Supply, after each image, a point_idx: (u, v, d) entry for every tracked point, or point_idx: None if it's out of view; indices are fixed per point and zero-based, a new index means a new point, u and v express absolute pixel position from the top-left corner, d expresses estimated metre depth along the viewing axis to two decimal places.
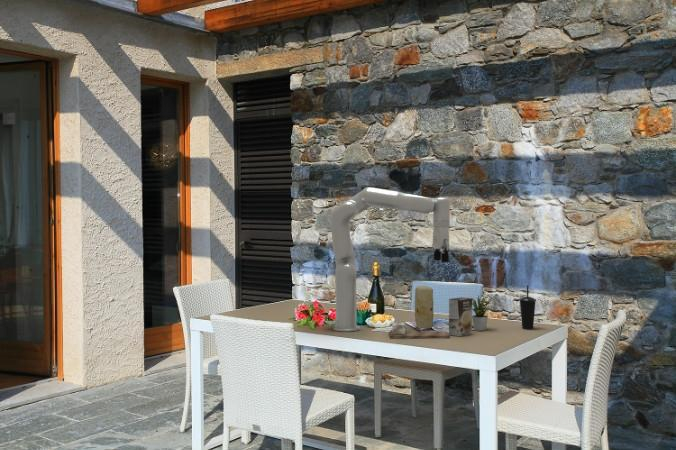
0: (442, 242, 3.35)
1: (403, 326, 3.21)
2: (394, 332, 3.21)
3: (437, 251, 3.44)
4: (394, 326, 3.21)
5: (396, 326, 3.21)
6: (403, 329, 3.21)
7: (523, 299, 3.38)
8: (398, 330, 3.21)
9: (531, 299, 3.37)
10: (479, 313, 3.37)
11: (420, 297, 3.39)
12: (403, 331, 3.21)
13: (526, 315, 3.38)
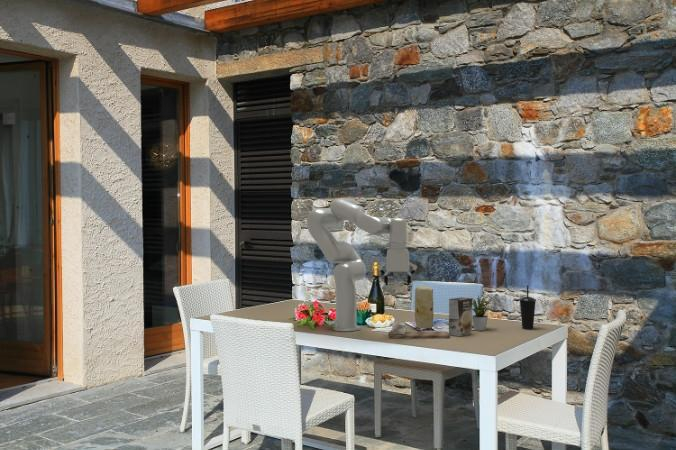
0: (409, 264, 3.23)
1: (403, 326, 3.21)
2: (394, 332, 3.21)
3: None
4: (394, 326, 3.21)
5: (396, 326, 3.21)
6: (403, 329, 3.21)
7: (523, 299, 3.38)
8: (398, 330, 3.21)
9: (531, 299, 3.37)
10: (479, 313, 3.37)
11: (420, 297, 3.39)
12: (403, 331, 3.21)
13: (526, 315, 3.38)
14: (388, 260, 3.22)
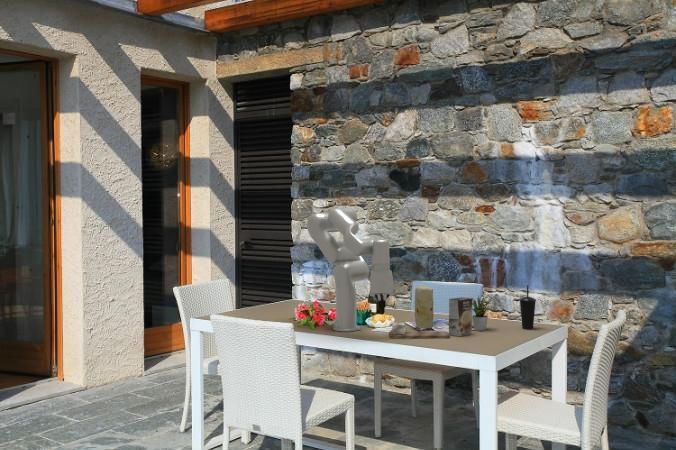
0: None
1: (403, 326, 3.21)
2: (394, 332, 3.21)
3: (381, 299, 3.23)
4: (394, 326, 3.21)
5: (396, 326, 3.21)
6: (403, 329, 3.21)
7: (523, 299, 3.38)
8: (398, 330, 3.21)
9: (531, 299, 3.37)
10: (479, 313, 3.37)
11: (420, 297, 3.39)
12: (403, 331, 3.21)
13: (526, 315, 3.38)
14: (372, 282, 3.21)
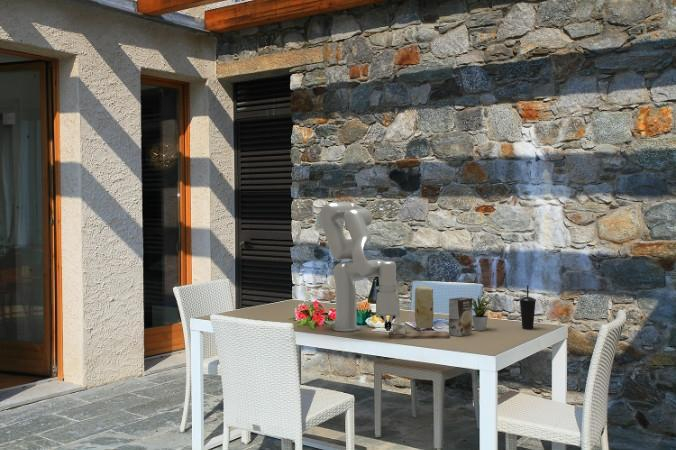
0: None
1: (403, 326, 3.21)
2: (394, 332, 3.21)
3: (387, 321, 3.24)
4: (394, 326, 3.21)
5: (396, 326, 3.21)
6: (403, 329, 3.21)
7: (523, 299, 3.38)
8: (398, 330, 3.21)
9: (531, 299, 3.37)
10: (479, 313, 3.37)
11: (420, 297, 3.39)
12: (403, 331, 3.21)
13: (526, 315, 3.38)
14: (378, 303, 3.21)
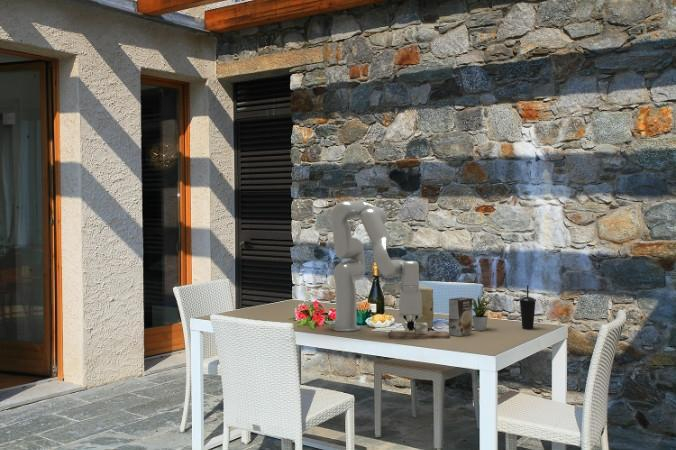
0: None
1: (426, 326, 3.21)
2: (417, 332, 3.21)
3: None
4: (417, 326, 3.21)
5: (419, 326, 3.21)
6: (426, 328, 3.21)
7: (523, 299, 3.38)
8: (421, 330, 3.21)
9: (531, 299, 3.37)
10: (479, 313, 3.37)
11: None
12: (426, 331, 3.21)
13: (526, 315, 3.38)
14: (401, 303, 3.21)
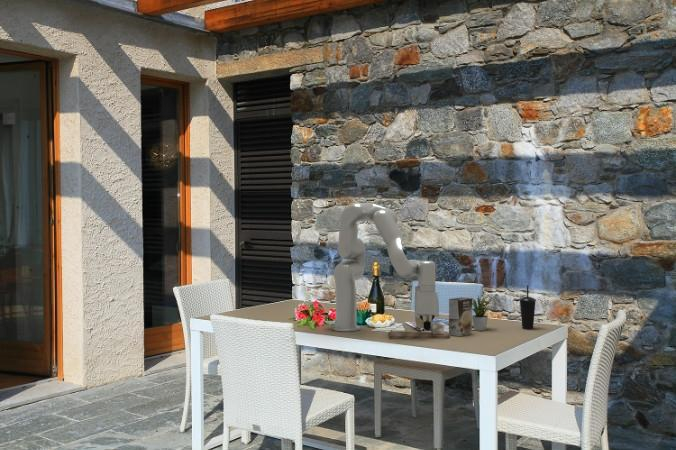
0: None
1: (443, 326, 3.21)
2: (434, 332, 3.21)
3: (426, 320, 3.24)
4: (434, 326, 3.21)
5: (436, 326, 3.21)
6: (443, 328, 3.21)
7: (523, 299, 3.38)
8: (438, 330, 3.21)
9: (531, 299, 3.37)
10: (479, 313, 3.37)
11: None
12: (443, 331, 3.21)
13: (526, 315, 3.38)
14: (417, 303, 3.21)
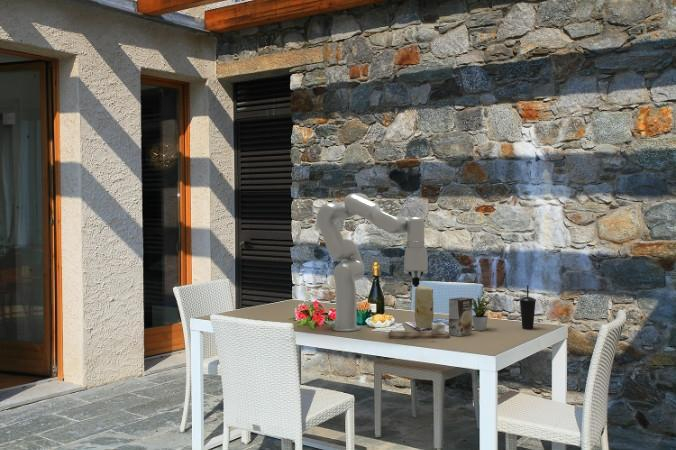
0: None
1: (443, 326, 3.21)
2: (434, 332, 3.21)
3: None
4: (434, 326, 3.21)
5: (436, 326, 3.21)
6: (443, 328, 3.21)
7: (523, 299, 3.38)
8: (438, 330, 3.21)
9: (531, 299, 3.37)
10: (479, 313, 3.37)
11: (420, 297, 3.39)
12: (443, 331, 3.21)
13: (526, 315, 3.38)
14: (406, 259, 3.21)
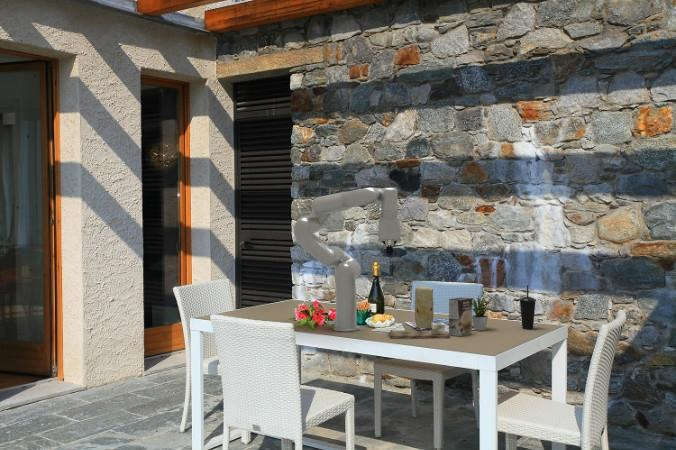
0: None
1: (443, 326, 3.21)
2: (434, 332, 3.21)
3: (388, 246, 3.35)
4: (434, 326, 3.21)
5: (436, 326, 3.21)
6: (443, 328, 3.21)
7: (523, 299, 3.38)
8: (438, 330, 3.21)
9: (531, 299, 3.37)
10: (479, 313, 3.37)
11: (420, 297, 3.39)
12: (443, 331, 3.21)
13: (526, 315, 3.38)
14: (380, 228, 3.32)
